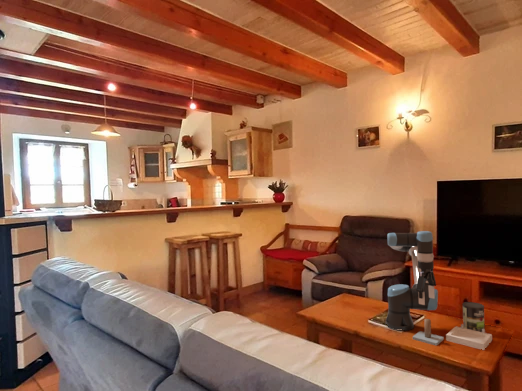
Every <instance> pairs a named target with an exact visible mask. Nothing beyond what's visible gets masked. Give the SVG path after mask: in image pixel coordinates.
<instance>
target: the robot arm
mask: <svg viewBox="0 0 522 391" xmlns="http://www.w3.org/2000/svg"><path fill="white" fill-rule="evenodd" d="M386 238H387V239H386V240H387V246H389V247H390V248H391V249H393V250H395V251H399V252H407V253H408V255H409V256H410V257H411V263H412V272H413V280H414V284H412V287H410V286H409V285H408V284H402V283H401V284H400V283H398V284H394V285H393V284H392V285H391V286H389V287H388V288H387V303H388V304H387V306H388V307H387V309H388V310H387V316H386V318H385V325H386V324H387V325H388V326H389V327H391V328H394V329H402V330H405V331H411V330H413V329H414V326H415V325H414V321H413V318H412V316H411V310H418V311H419V310H420V311H422V310H423V311H436V310H437V309H438V302H439V301H438V298H439V295H438V294H439V291H438V289H436V288H435V286H437V282H436V277H435V274H434V269H435V268H434V265H435V264H434V258H435V255H434V237H433V232H432V231H428V230H420V231H419V230H418V231H417V232H389V233H387V237H386ZM389 327H388V328H389ZM391 328H390V329H391ZM394 329H393V330H394Z"/></svg>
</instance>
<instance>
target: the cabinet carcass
mask: <svg viewBox="0 0 522 391" xmlns="http://www.w3.org/2000/svg"><path fill="white" fill-rule="evenodd" d="M445 340H446V341H447V342H451V343H454V344H458V345H462V346H466V347H470V348H474V349H478V350H481V349H482V351H485V350H486V349H485V348H487V347H488V346H489V345H490V344H491V343H492V341H493V335H492V333H487V332H486V330H485V329H482V332H479V331H474V330H470V329H466V328H464V325H463V323H461V324H460V326H457V325H456V326H454V327H453V328H452V329H451V330H450V331H449V332H448V333H446V334H445ZM489 343H490V344H489Z"/></svg>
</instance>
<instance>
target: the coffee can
mask: <svg viewBox="0 0 522 391" xmlns="http://www.w3.org/2000/svg"><path fill="white" fill-rule="evenodd" d="M462 321H463V323H462V324H463V325H464V328H466V329H470V330H474V331H479V332H482V329H485V327H486V326H485V306H484V304H482V303H479V302H474V301H473V302H472V301H465V302H462Z"/></svg>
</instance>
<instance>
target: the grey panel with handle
mask: <svg viewBox="0 0 522 391" xmlns="http://www.w3.org/2000/svg"><path fill="white" fill-rule="evenodd" d="M423 325H424V331H421V330H419V331H418V332H417V333H415V334H414V335H412V340H413V341H417V342H421V343H425V344H428V345H433V346H435V347H438V345H439V344H440V343H441V342H443V341H444V336H441V335H439V334H438V335H437V334H433V333H432V322H431V319H430V318H424V323H423Z"/></svg>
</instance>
